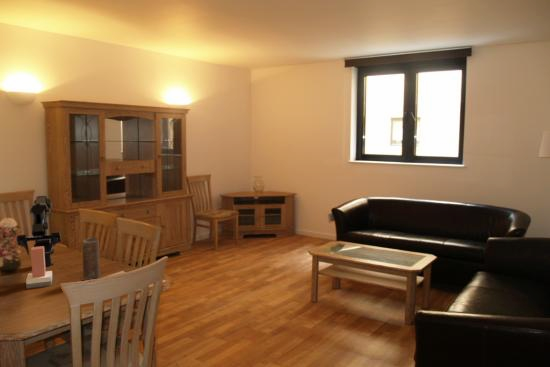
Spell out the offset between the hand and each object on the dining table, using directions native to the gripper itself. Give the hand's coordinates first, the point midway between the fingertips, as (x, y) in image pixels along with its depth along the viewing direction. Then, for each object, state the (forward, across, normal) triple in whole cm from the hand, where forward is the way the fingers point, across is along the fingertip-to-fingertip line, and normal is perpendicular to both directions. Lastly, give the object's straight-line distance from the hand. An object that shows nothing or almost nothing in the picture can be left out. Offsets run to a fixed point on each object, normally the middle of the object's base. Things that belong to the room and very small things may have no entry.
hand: (39, 253), depth 213 cm
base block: (+13, 0, +5) cm, 14 cm away
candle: (+16, +22, +2) cm, 28 cm away
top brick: (+10, 0, +2) cm, 10 cm away
